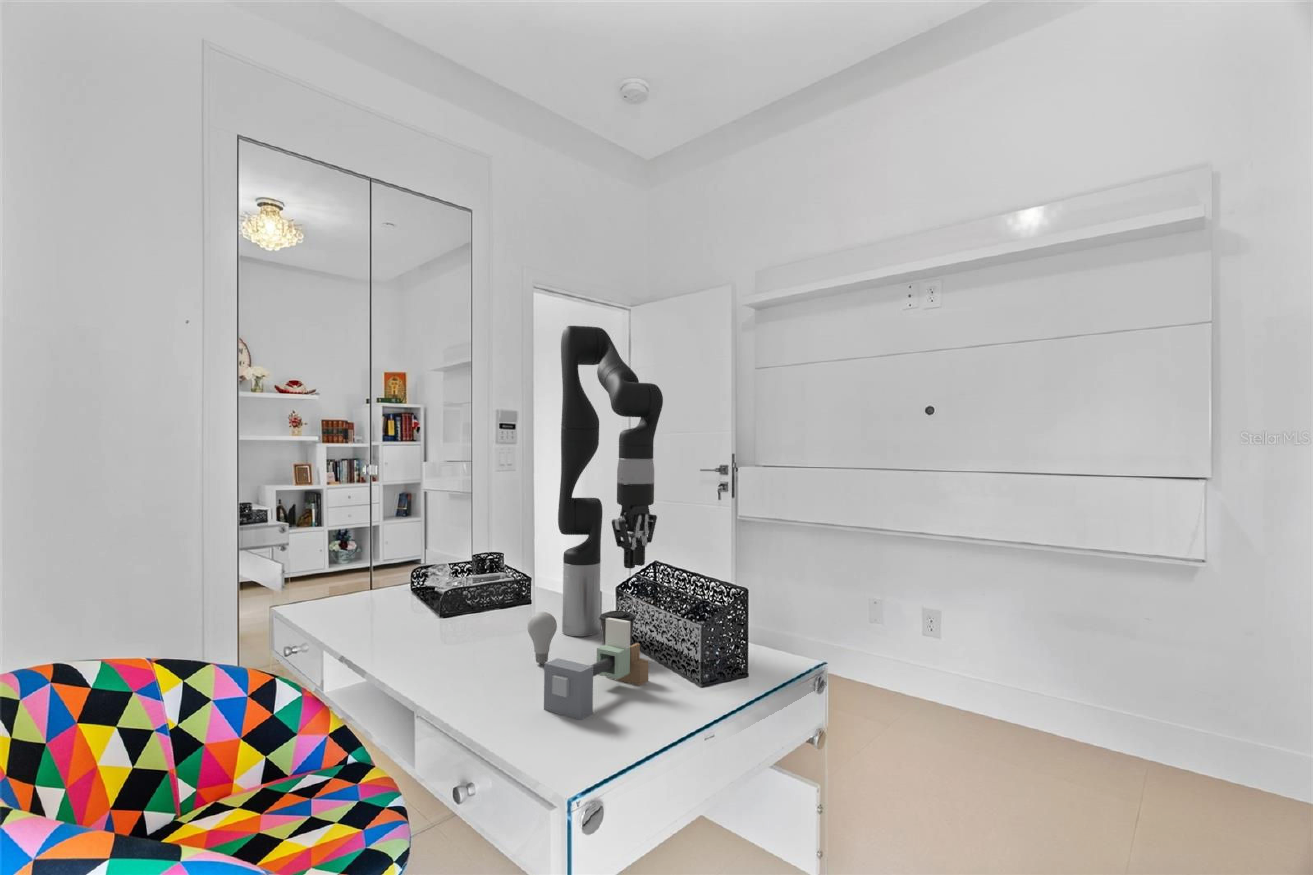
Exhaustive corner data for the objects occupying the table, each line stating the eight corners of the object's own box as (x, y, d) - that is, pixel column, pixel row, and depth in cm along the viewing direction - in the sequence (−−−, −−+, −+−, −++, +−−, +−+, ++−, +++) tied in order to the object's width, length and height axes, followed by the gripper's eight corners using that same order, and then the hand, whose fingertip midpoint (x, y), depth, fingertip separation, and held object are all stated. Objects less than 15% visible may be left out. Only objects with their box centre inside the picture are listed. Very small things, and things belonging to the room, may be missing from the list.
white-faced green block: (608, 668, 130) (609, 617, 130) (629, 673, 128) (630, 621, 128) (596, 674, 127) (597, 622, 127) (618, 679, 124) (618, 626, 124)
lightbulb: (528, 670, 136) (529, 616, 136) (525, 660, 142) (526, 609, 142) (557, 668, 138) (558, 615, 138) (554, 658, 143) (555, 607, 144)
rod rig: (614, 673, 135) (615, 633, 135) (648, 680, 131) (648, 640, 131) (540, 710, 115) (541, 664, 115) (577, 721, 111) (578, 673, 111)
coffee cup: (630, 665, 140) (631, 618, 140) (593, 662, 141) (594, 615, 141) (639, 654, 147) (639, 609, 148) (604, 651, 149) (604, 606, 149)
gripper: (638, 479, 142) (637, 559, 141) (600, 481, 130) (598, 570, 129) (669, 480, 138) (667, 563, 138) (632, 483, 126) (630, 574, 126)
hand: (634, 566), depth 134 cm, fingers open, 3 cm apart
